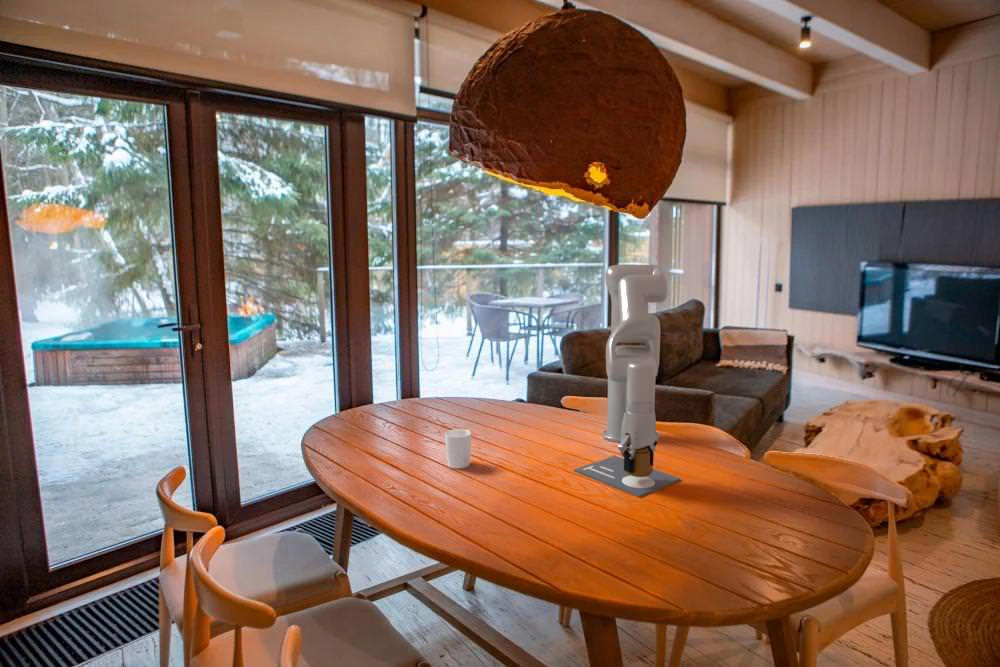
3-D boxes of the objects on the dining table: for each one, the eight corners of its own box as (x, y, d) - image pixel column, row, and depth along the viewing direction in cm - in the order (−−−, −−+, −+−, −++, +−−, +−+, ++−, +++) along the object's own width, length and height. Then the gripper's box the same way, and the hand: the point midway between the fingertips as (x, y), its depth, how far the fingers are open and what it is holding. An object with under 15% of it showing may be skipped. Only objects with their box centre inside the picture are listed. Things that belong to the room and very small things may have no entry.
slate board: (614, 457, 194) (614, 455, 194) (680, 480, 176) (680, 478, 176) (573, 471, 183) (573, 469, 183) (639, 497, 165) (639, 494, 165)
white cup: (465, 471, 184) (465, 438, 183) (441, 468, 187) (440, 435, 185) (475, 461, 192) (474, 430, 190) (451, 459, 194) (451, 428, 192)
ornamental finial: (630, 466, 178) (655, 470, 174) (621, 474, 172) (647, 479, 168) (630, 439, 177) (656, 443, 173) (621, 446, 171) (648, 451, 167)
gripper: (649, 398, 179) (647, 457, 181) (608, 408, 168) (607, 471, 170) (671, 403, 173) (669, 464, 175) (630, 414, 162) (628, 479, 165)
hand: (638, 467), depth 173 cm, fingers closed on ornamental finial, 7 cm apart
